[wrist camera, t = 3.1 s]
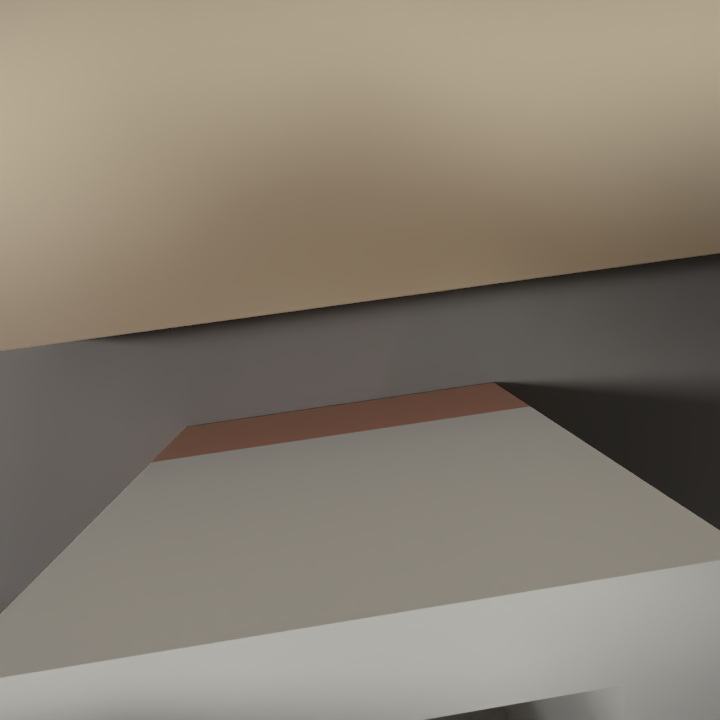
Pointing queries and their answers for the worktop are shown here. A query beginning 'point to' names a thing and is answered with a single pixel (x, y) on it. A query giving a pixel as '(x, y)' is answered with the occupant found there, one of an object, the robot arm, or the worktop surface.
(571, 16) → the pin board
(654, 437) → the worktop surface
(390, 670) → the sleeve
